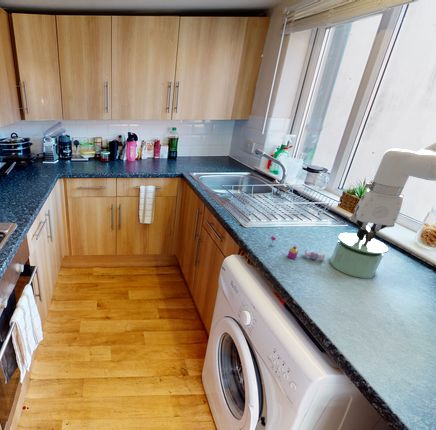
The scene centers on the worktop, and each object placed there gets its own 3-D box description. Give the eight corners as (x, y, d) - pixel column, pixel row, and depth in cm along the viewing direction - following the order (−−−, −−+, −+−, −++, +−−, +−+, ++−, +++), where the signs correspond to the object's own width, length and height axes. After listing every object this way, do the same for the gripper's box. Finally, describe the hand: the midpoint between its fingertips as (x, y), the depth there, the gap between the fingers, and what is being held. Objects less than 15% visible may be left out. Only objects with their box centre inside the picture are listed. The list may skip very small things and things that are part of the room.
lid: (377, 240, 103) (384, 224, 100) (394, 259, 92) (403, 242, 89) (332, 232, 108) (338, 217, 105) (343, 250, 96) (350, 233, 93)
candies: (320, 256, 110) (325, 242, 107) (323, 266, 103) (328, 252, 101) (268, 244, 117) (272, 231, 115) (268, 253, 111) (272, 239, 108)
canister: (366, 262, 107) (375, 242, 103) (379, 281, 96) (390, 260, 92) (326, 254, 111) (334, 235, 107) (335, 272, 100) (343, 251, 97)
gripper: (359, 188, 90) (339, 239, 98) (423, 196, 85) (397, 249, 93) (352, 182, 97) (333, 230, 104) (411, 189, 91) (387, 239, 99)
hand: (363, 239), depth 99 cm, fingers closed on lid, 1 cm apart
